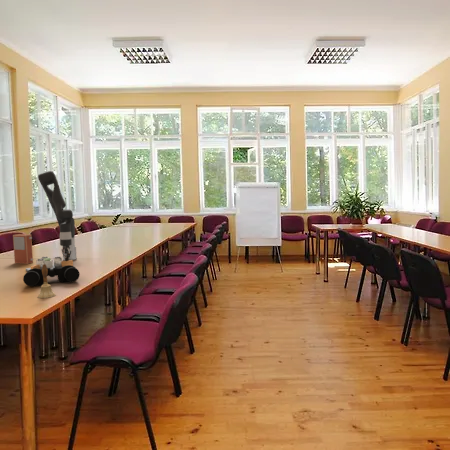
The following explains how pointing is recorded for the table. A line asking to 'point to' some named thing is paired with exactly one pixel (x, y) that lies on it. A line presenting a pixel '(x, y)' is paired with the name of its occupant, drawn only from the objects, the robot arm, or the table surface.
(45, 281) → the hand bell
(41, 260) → the knob
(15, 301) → the table surface
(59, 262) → the knob
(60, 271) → the binoculars
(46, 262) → the levelling plate
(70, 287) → the table surface
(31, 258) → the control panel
